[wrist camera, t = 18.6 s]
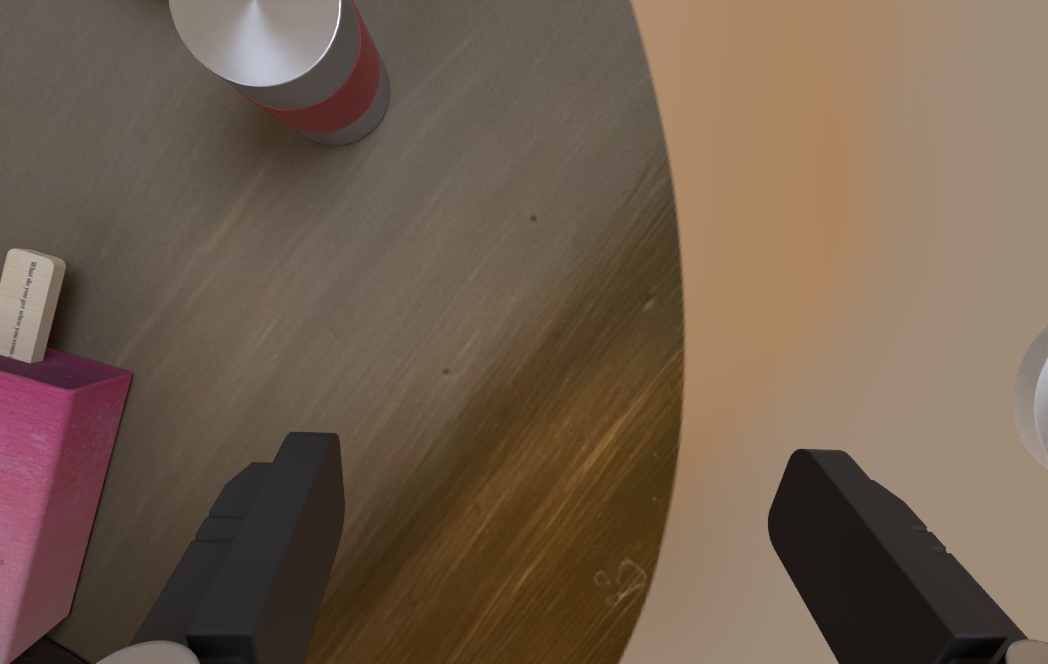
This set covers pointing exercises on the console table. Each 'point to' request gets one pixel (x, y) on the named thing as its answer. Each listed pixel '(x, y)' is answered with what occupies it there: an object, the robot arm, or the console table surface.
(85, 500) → the popsicle
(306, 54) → the can
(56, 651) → the lantern
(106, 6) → the console table surface
